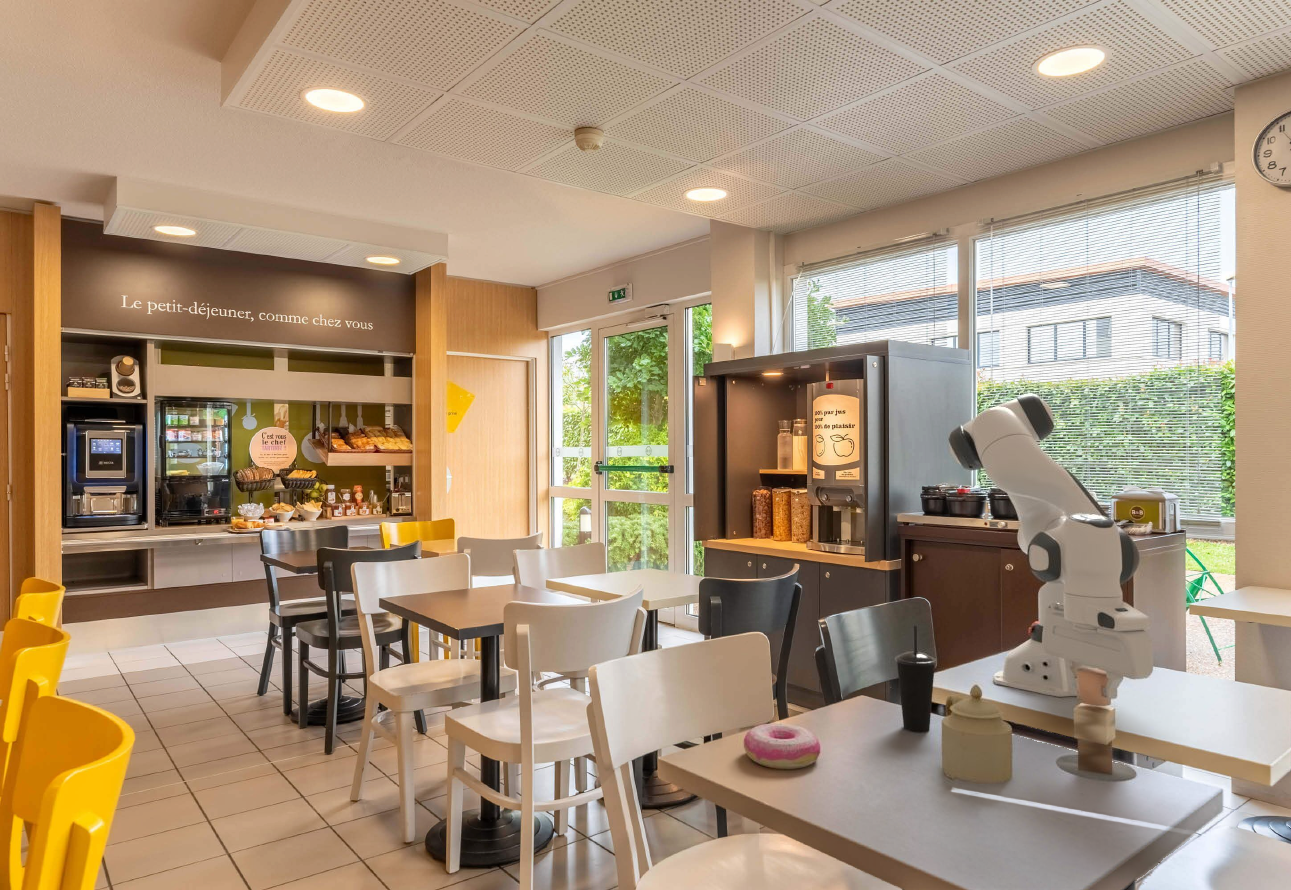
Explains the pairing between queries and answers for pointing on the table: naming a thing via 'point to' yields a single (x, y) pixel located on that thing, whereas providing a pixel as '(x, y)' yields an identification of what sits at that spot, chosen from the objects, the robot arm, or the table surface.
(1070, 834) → the table surface
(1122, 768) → the slate coaster
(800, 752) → the donut
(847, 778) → the table surface
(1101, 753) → the walnut cube
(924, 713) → the drinking cup
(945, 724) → the sugar bowl
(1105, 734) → the beech cube
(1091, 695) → the terracotta cylinder
